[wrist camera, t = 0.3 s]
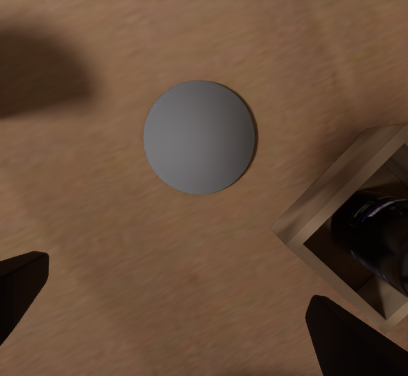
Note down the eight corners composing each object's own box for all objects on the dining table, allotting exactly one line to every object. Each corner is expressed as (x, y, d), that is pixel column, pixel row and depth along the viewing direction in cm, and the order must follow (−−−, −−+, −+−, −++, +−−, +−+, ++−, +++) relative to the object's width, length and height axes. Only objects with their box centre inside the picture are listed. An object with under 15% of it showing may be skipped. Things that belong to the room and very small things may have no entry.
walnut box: (354, 304, 25) (384, 334, 21) (269, 228, 23) (285, 245, 19) (448, 217, 23) (501, 231, 19) (367, 128, 21) (406, 123, 17)
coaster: (244, 199, 22) (245, 200, 22) (140, 187, 21) (139, 188, 21) (261, 90, 20) (263, 89, 20) (149, 74, 20) (148, 72, 19)
